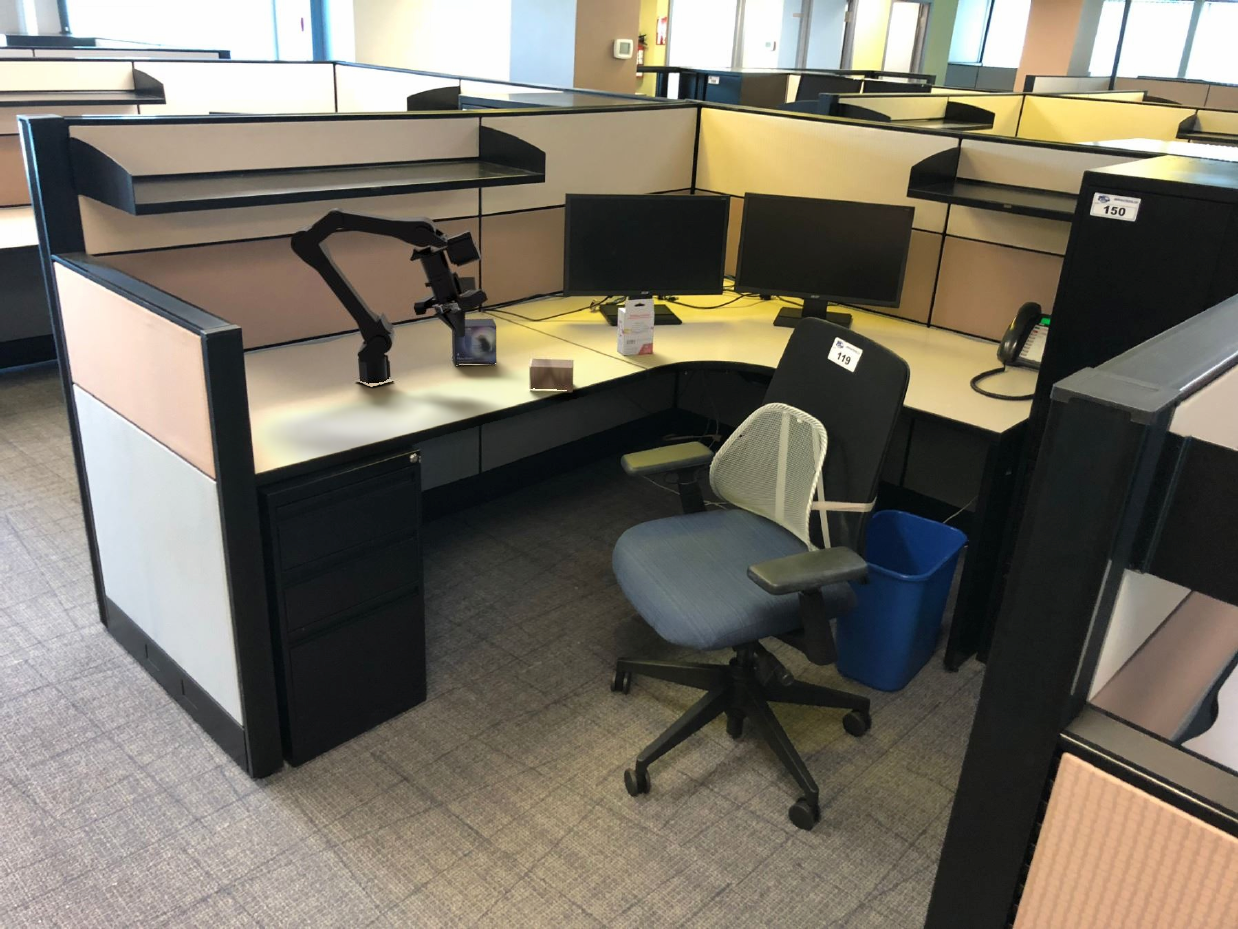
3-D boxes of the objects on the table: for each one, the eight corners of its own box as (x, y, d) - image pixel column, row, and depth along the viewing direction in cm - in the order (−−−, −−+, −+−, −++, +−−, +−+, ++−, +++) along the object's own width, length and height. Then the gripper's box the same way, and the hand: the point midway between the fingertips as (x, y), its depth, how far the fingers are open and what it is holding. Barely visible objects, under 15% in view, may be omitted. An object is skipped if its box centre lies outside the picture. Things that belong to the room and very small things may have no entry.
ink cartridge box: (645, 348, 259) (648, 294, 253) (653, 353, 254) (656, 298, 248) (616, 350, 256) (618, 296, 250) (623, 356, 251) (625, 300, 245)
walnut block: (529, 366, 221) (572, 367, 222) (531, 358, 227) (573, 359, 227) (529, 391, 224) (572, 392, 224) (531, 382, 229) (573, 383, 230)
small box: (454, 367, 238) (453, 326, 233) (451, 359, 243) (450, 319, 239) (497, 365, 240) (496, 324, 236) (493, 357, 246) (492, 317, 242)
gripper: (490, 256, 217) (513, 320, 223) (433, 264, 228) (456, 325, 234) (459, 274, 209) (483, 340, 216) (401, 281, 220) (426, 344, 227)
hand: (462, 336), depth 223 cm, fingers closed
